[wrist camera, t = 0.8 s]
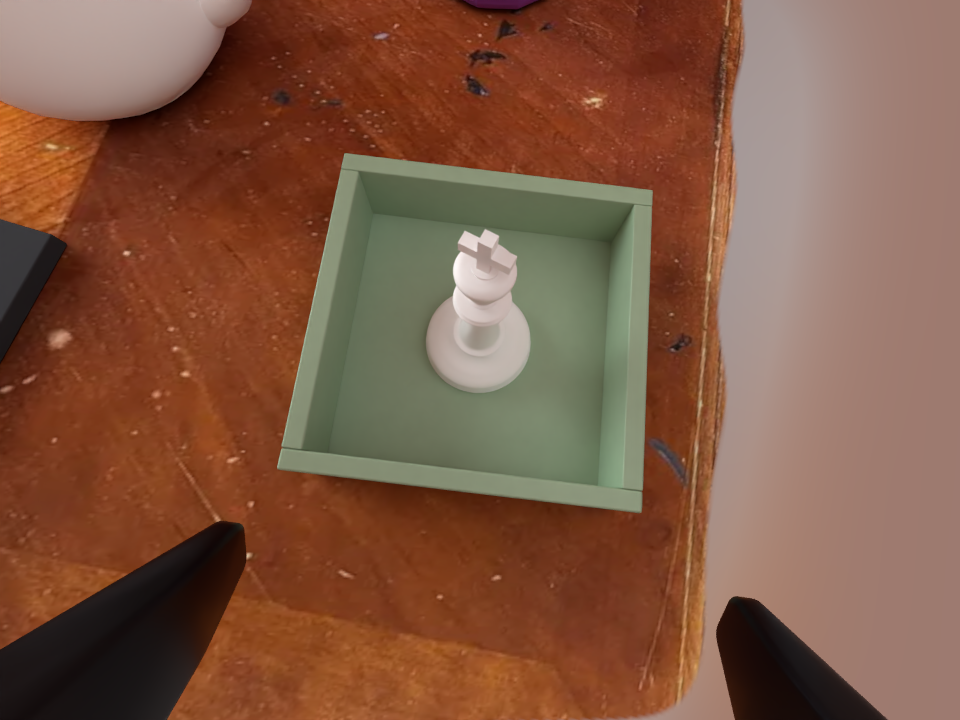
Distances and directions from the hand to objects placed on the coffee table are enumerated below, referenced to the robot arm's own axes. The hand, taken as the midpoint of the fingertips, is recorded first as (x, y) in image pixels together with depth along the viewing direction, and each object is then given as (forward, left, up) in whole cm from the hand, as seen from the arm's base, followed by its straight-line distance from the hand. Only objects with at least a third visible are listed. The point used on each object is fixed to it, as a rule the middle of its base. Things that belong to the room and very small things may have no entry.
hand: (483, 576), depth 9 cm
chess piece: (+8, +2, -13) cm, 15 cm away
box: (+8, +2, -13) cm, 15 cm away
